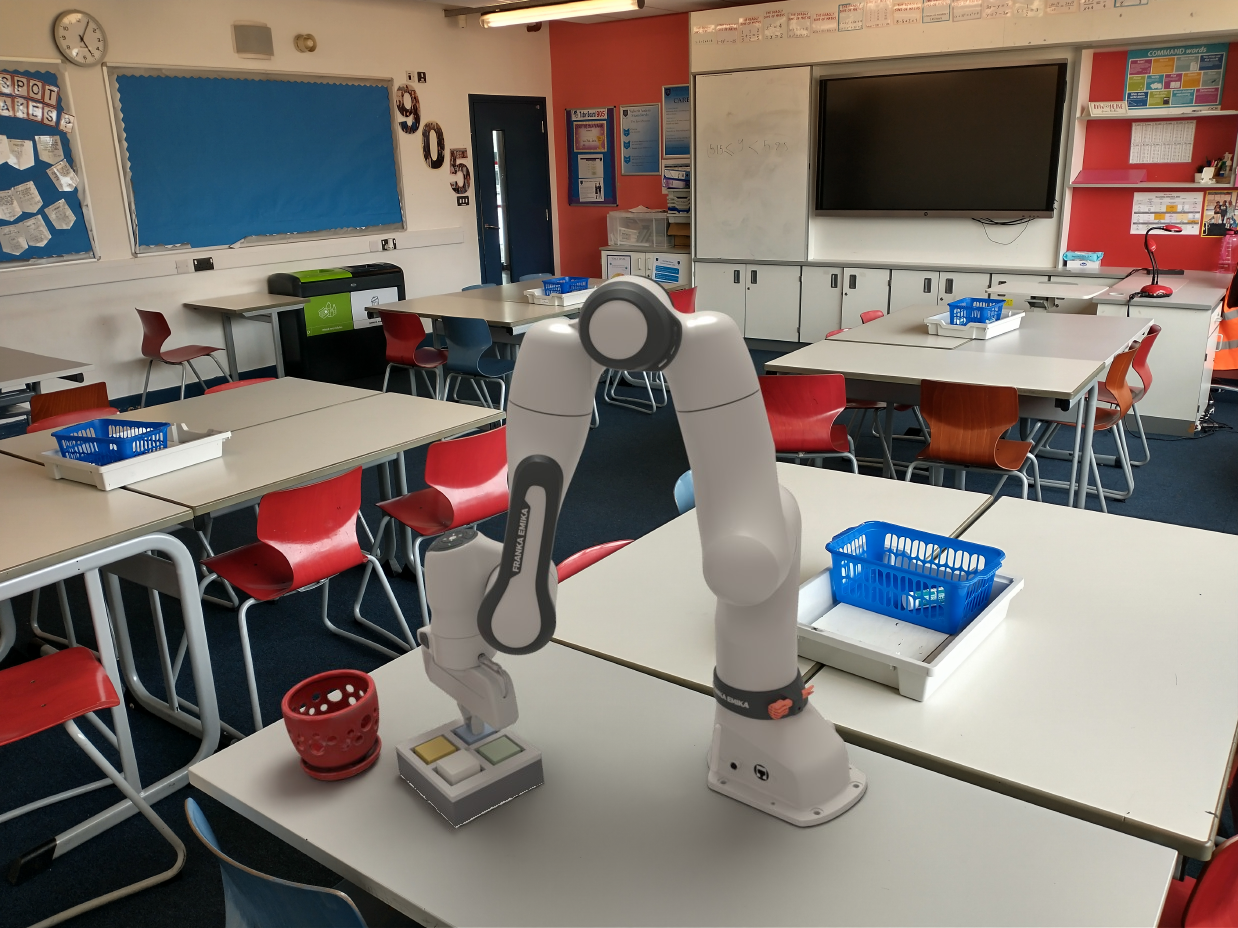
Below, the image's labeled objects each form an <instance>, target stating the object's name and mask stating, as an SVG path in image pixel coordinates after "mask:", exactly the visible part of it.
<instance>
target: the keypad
mask: <svg viewBox="0 0 1238 928" xmlns="http://www.w3.org/2000/svg"><path fill="white" fill-rule="evenodd" d="M462 726H464V721H463V717H462V716H460V717H457V718H455V719H453V720H451V721H449V722H447V723H444V724H442V725H440V726H437V727H435V728H433V729H430V730H429V731H426V732H424V733H422V734H420V735H417V736H415V737H413V738H410V739H408V740H406V741H403V742H401V743H399V744H397V745H394V746H395V752H396V753H395V754H396V758H397V759H396V760H397V766H398V774H399V773H400V774H399V776H400V775H402V776H403V777H404V778H405V779H406V780H407V781H409V783H411V784H412V785H413V786H414V788H416V790H418V791H419V792H420V793H421V794H422V795H423V796H425V798H426V799H427V800H428V801H430V802H431V803H432V804H433V805H434V806H435V807H436V808H437V810H438V811H439V812H440V813H442V814H443V815H444V816H445V817H446V818H447V819H448V820H449V821H450V822H451V823H452V824H453V825H454V826H455V827H456V826H458V825H460V824H463V823H464V822H466V821H468V820H470V819H471V818H473V817H475V816H477V815H479V814H481V813H482V812H484V811H486V810H488V809H490V808H491V807H494V806H496V805H498V804H500V803H501V802H503V801H506V800H508V799H509V798H513V797H514V796H516V795H519V794H520V793H522V792H524V791H526V790H529V789H530V788H532V787H534V786H537V785H539V784H541V783H543V782H544V783H545V779H544V778H545V777H544V768H543V767H544V766H543V756H542V751H540V750H538V749H536V748H535V746H532V745H531V744H530V743H528V742H527V741H525V740H524V739H523V738H521V737H520V736H519V735H518V734H516V733H515V732H514V731H512V730H511V729H509V728H508V727H506V728H504V729H502V730H499V731H496V730H495V731H496V734H494V735H492V736H489V737H487V738H485V739H483V740H481V741H479V742H477V743H474V744H472V745H470V746H468V745H467V744H465V743H464V742H463V741H462V740H460V739H459V738H458V737H457V736H456V733H455V730H456V729H458V728H460V727H462ZM440 736H442V737H443V738H444V739H445V740H446V741H448V742H449V743H450V744H451V745H452V746H454V747H455V748H456V752H457V751H460V750H462V749H464V750H466V751H467V752H468V753H469V754H471V755H472V756H473V757H474V758H475V759H477V760H478V761H479V763H480V771H481V772H480V773H478V774H476V775H474V776H472V777H470V778H468V779H466V780H464V781H462V782H460V783H458V784H456V785H454V786H452V787H451V786H450V785H449V784H448V783H447V782H445V781H444V780H443V779H442V778H441V777H440V776H439V775H438V774H436V773H435V772H437V771H438V770H437V762H434V763H432V764H429V765H426V764H425V763H424V762H423V761H422V760H421V759H420V758H418V757H417V756H416V754H415V748H416V747H418V746H420V745H422V744H425V743H427V742H429V741H431V740H433V739H436V738H438V737H440ZM502 737H505V738H507V739H508V740H509V741H511V742H512V743H513V744H515V745H516V746H517V747H519V748H520V749H521V753H519V754H517V755H515V756H513V757H511V758H509V759H507V760H505V761H503V762H501V763H499V764H497V765H495V766H493V765H492V764H490V763H489V762H488V761H487V760H485V759H484V758H483V757H482V756H480V755H479V754H478V753H477V752H479V748H481V747H483V746H485V745H487V744H489V743H491V742H494V741H496V740H498V739H500V738H502ZM444 758H445V757H444ZM544 783H543V784H544ZM541 785H542V784H541ZM539 786H540V785H539ZM537 787H538V786H537ZM414 788H413V789H414ZM416 790H415V791H416ZM529 791H530V790H529ZM437 810H436V811H437ZM438 811H437V812H438ZM439 812H438V813H439ZM440 813H439V814H440ZM451 823H450V824H451ZM452 824H451V825H452ZM453 825H452V826H453ZM454 826H453V827H454ZM455 827H454V828H455Z"/></svg>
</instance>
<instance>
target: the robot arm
mask: <svg viewBox="0 0 1238 928" xmlns="http://www.w3.org/2000/svg"><path fill="white" fill-rule="evenodd" d="M518 350H519V351H518V354H517V358H516V360H515V364H514V368H513V372H512V377H511V380H510V381H511V382H510V387H509V393H508V400H507V406H506V420H505V422H506V423H505V445H506V447H505V449H506V460H507V463H506V464H507V477H508V479H507V480H508V509H507V520H506V525H505V530H504V531H505V532H504V539H503V542H499V541H496V540H493V539H491V538H489V537H488V536H485V535H484V533H482V532H480V531H478V530H476V529H473V528H472V529H471V528H469V529H468V528H463V529H462V528H461V529H456V530H453V531H450V532H447V533H445V534H443V535H441V536H439V537H437V538H436V539H435V540H434V541H432V543H431V544H430V545H429V547H428V548H427V549H426V552H425V555H424V556H425V557H424V567H423V568H424V583H425V584H424V585H425V594H426V595H425V597H426V602H427V605H428V606H429V607H428V608H429V609H430V611H431V620H430V624H427V625H426V626H423V627H420V628H419V629H417V631H416V636H417V640H418V642H419V644H421V648H420V649H421V654H422V660H423V661H422V662H423V668H424V670H425V674H426V676H427V678H428V680H429V682H431V683H432V684H434V685H435V686H436V687H437V688H439V689H440V690H441V691H442V692H444V693H445V694H446V695H448V696H449V697H450V698H452V699H453V700H454V701H456V705H457V707H458V709H459V712H460V714H461V717H463V721H464V726H465V727H466V728H467V729H469V730H470V731H471V732H472V733H473V734H475V735H478V734H480V733H482V732H483V731H484V730H485V725H484V722H485V723H486V724H488V725H489V726H490V727H492V728H493V729H494V730H496V731H499V730H502V729H504V728H506V727H507V728H508V727H510V726H514V725H515V724H516V723H517V722H518V719H519V715H520V712H519V706H518V701H517V696H516V691H515V687H514V682H513V680H512V677H511V675H510V674H509V673H508V672H507V671H506V669H504V668H503V667H502V665H501V664H499V663H498V662H496V661H494V660H493V658H495V656H496V655H497V653H498V652H500V653H503V654H506V655H511V656H525V655H526V656H527V655H530V654H533V653H534V654H535V652H538V651H540V650H542V649H543V648H544V647H545V646H546V645H548V644H549V643H550V641H551V640H552V638H553V637H554V635H555V632H556V628H557V610H556V609H557V598H558V596H557V595H558V587H559V584H558V583H559V573H558V568H557V566H556V563H555V562H554V561H553V559H552V557H553V550H554V546H555V545H554V544H555V538H556V537H555V536H556V531H557V525H558V520H559V515H560V512H561V508H562V505H563V502H564V499H565V497H566V493H567V491H568V488H569V486H570V483H571V481H572V479H573V476H574V474H575V471H576V468H577V467H578V463H579V461H580V457H581V455H582V453H583V450H584V448H585V444H586V441H587V438H588V433H589V430H590V425H591V420H592V418H593V417H592V415H593V410H594V404H595V399H596V398H595V396H596V392H597V387H598V384H599V380H600V378H601V375H602V373H603V372H604V371H605V370H606V369H610V370H613V371H621V372H642V373H660V372H661V374H663V376H664V377H665V380H666V383H667V385H668V387H669V390H670V394H671V397H672V402H673V405H674V409H675V414H676V417H677V421H678V424H679V428H680V432H681V435H682V440H683V443H684V447H685V451H686V455H687V459H688V462H689V467H690V471H691V472H690V473H691V478H692V485H693V496H694V503H695V505H694V506H695V512H696V520H697V525H698V526H697V528H698V534H699V540H700V545H701V556H702V557H701V560H702V562H701V563H702V564H701V565H702V566H701V567H702V568H701V569H702V575H703V579H704V581H705V584H706V585H707V587H708V588H709V590H710V591H711V593H712V594H714V596H715V597H716V606H715V614H714V642H715V646H714V647H715V649H714V650H715V666H714V668H713V672H712V673H713V674H712V675H713V676H712V679H713V680H712V687H713V691H712V693H713V697H714V699H715V712H714V720H713V730H712V737H711V741H710V746H709V750H708V753H707V754H706V755H707V756H706V757H707V758H706V761H707V766H708V768H709V771H708V774H707V782H706V783H707V787H708V788H709V789H711V790H713V791H716V792H718V793H720V794H722V795H725V796H726V797H727V796H728V797H730V798H731V799H733V800H737V801H739V802H741V803H744V804H746V805H749V806H750V807H753V808H755V809H758V810H760V811H763V812H765V813H766V814H769V815H771V816H774V817H776V818H778V819H782V820H783V821H785V822H788V823H791V824H793V825H794V826H798V827H810V826H815V825H819V824H823V823H826V822H828V821H830V820H833V819H835V818H836V817H838V816H841V814H843V813H845V812H846V811H848V810H849V809H851V808H852V806H854V805H856V803H858V801H859V800H860V799H861V798H862V797H863V795H864V794H865V792H866V790H867V787H868V781H867V780H868V777H867V775H866V774H865V773H864V772H862V771H861V770H860V769H858V768H857V767H856V766H854V765H853V764H852V763H850V761H849V753H848V748H847V746H846V743H845V741H844V739H843V738H842V737H841V736H840V735H839V733H838V732H837V731H836V726H835V724H834V723H833V722H832V720H830V719H826V718H825V717H824V716H823V715H822V713H820V711H818V709H817V708H816V707H815V706H814V705H813V703H812V702H811V701H810V700H809V696H811V695H813V693H814V692H815V691H814V688H815V685H814V684H811V685H810V686H808V687H806V684H805V682H804V679H803V676H802V673H801V670H800V667H798V666H799V665H798V618H799V617H798V614H799V600H800V599H799V596H800V581H801V580H800V579H801V559H802V558H801V556H802V533H803V532H802V531H803V529H802V523H803V522H802V515H801V509H800V507H799V503H798V501H797V499H796V497H795V496H794V494H793V493H792V492H791V491H790V490H789V488H787V487H786V486H784V485H783V484H781V483H779V478H778V470H777V469H778V468H777V458H776V445H775V441H774V438H773V433H772V429H771V424H770V421H769V418H768V414H767V409H766V406H765V405H766V404H765V401H764V397H763V394H762V390H761V385H760V381H759V378H758V374H757V371H756V367H755V365H754V362H753V359H752V357H751V354H750V352H749V348H748V346H747V344H746V342H745V340H744V337H743V334H742V333H741V331H740V328H739V326H738V324H737V323H736V321H735V320H734V319H733V318H732V317H731V316H730V315H728V314H726V313H724V312H720V311H718V310H717V311H716V310H700V311H695V312H692V313H691V312H690V313H683V312H680V311H678V310H677V309H676V308H675V304H674V301H673V299H672V296H671V295H670V293H669V291H668V289H666V287H664V285H662V283H660V282H658V281H657V280H655V279H654V278H651V277H649V276H646V275H642V274H628V275H627V274H626V275H619V276H615V277H612V278H610V279H608V280H607V281H605V282H603V283H602V284H600V285H599V286H598V287H597V288H595V289H594V290H593V291H592V292H591V293H590V294H589V295H588V296H587V297H586V299H585V300H584V302H583V304H582V306H581V308H580V311H579V314H578V318H575V319H568V318H560V317H554V318H552V317H551V318H545V319H542V320H538V321H537V322H535V323H534V324H532V325H530V327H529V328H528V329H527V330H526V332H525V334H524V336H523V338H522V342H521V345H520V347H519V349H518Z"/></svg>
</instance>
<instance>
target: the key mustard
mask: <svg viewBox="0 0 1238 928" xmlns="http://www.w3.org/2000/svg"><path fill="white" fill-rule="evenodd" d="M455 752H456V748H455V747H454V746H452V745H451V744H450V743H449V742H448V741H446V740H445V739H444V738H443V737H442V736H440V737H438V738H436V739H433V740H431V741H429V742H427V743H425V744H422V745H420V746H418V747H416V748H415V754H416V756H417V757H418V758H420V759H421V760H422V761H423V762H424V763H425V764H426V765H429V764H432V763H434V762H436V761H438V760H440V759H442V758H444V757H447V756H449V755H451V754H453V753H455ZM435 773H436V774H438V771H437V772H435Z"/></svg>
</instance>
